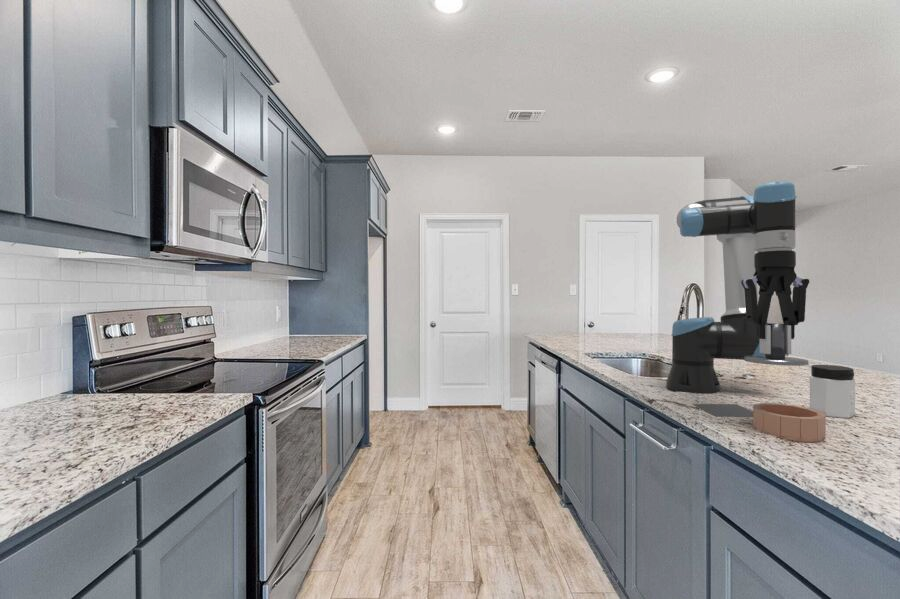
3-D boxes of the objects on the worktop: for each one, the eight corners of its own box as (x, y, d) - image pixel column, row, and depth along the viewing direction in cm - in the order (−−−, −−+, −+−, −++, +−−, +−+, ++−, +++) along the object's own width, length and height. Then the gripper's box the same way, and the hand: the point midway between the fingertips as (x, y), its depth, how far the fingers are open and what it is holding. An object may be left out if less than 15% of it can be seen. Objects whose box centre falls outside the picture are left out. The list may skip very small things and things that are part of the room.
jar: (847, 420, 102) (848, 371, 102) (805, 412, 109) (805, 366, 109) (858, 414, 107) (858, 367, 107) (817, 407, 114) (818, 363, 114)
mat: (691, 406, 117) (691, 403, 117) (736, 406, 116) (736, 404, 116) (715, 418, 105) (715, 416, 105) (766, 419, 104) (766, 417, 104)
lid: (733, 358, 102) (733, 322, 102) (785, 359, 101) (784, 322, 101) (764, 365, 91) (763, 324, 91) (822, 366, 89) (822, 324, 90)
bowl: (741, 423, 101) (741, 402, 100) (795, 424, 100) (795, 403, 100) (777, 441, 88) (777, 418, 88) (840, 442, 87) (840, 419, 87)
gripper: (745, 249, 93) (746, 354, 93) (826, 248, 92) (827, 356, 91) (726, 253, 101) (727, 351, 100) (801, 252, 99) (802, 352, 99)
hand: (775, 353), depth 96 cm, fingers closed on lid, 4 cm apart
